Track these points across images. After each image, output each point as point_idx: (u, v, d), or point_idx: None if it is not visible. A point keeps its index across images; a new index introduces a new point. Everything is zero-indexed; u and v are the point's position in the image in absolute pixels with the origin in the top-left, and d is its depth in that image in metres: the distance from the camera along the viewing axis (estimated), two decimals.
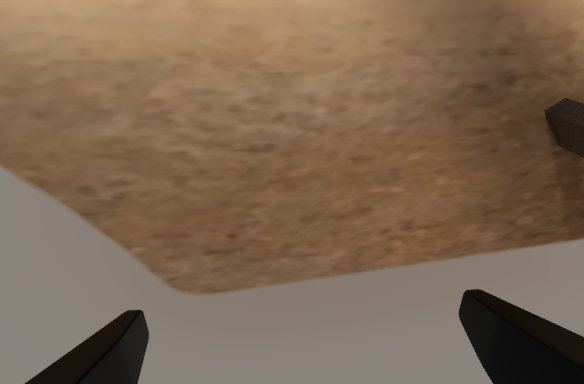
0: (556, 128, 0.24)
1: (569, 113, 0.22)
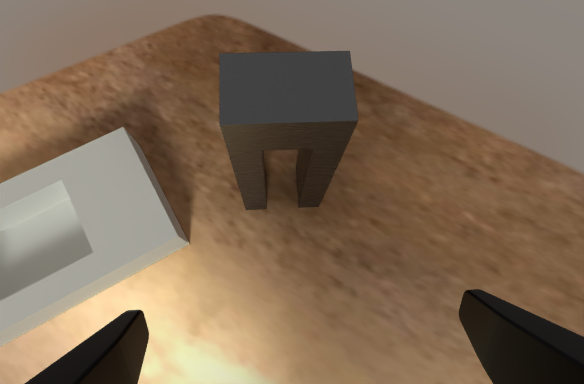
0: None
1: (314, 200, 0.24)
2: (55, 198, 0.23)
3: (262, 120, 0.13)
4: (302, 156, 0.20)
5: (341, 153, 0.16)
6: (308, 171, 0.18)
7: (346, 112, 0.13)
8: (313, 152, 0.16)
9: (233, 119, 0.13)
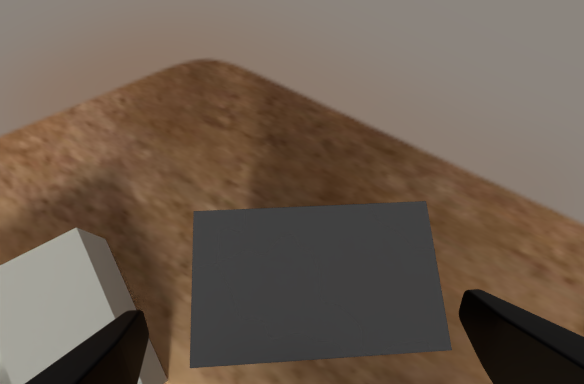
0: None
1: None
2: None
3: (271, 356, 0.07)
4: None
5: None
6: None
7: (428, 332, 0.07)
8: None
9: (217, 354, 0.07)
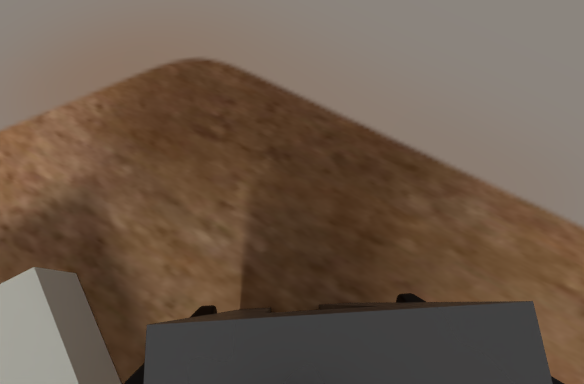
0: None
1: None
2: None
3: None
4: None
5: None
6: None
7: None
8: None
9: None
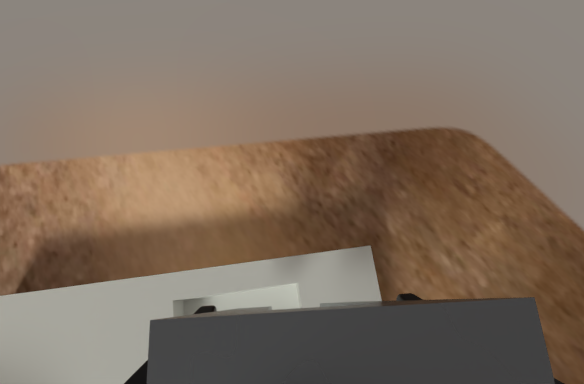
0: None
1: None
2: None
3: None
4: None
5: None
6: None
7: None
8: None
9: None
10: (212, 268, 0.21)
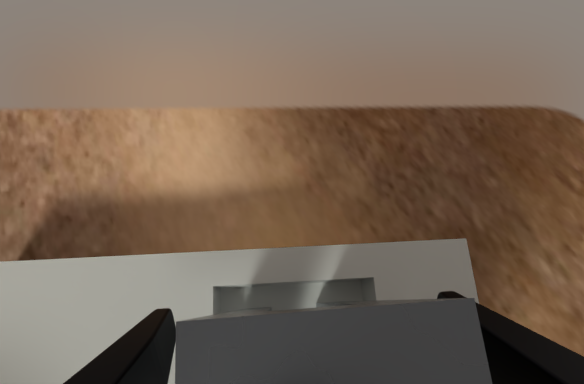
0: None
1: None
2: (336, 281, 0.18)
3: None
4: None
5: None
6: None
7: None
8: None
9: None
10: (265, 250, 0.16)
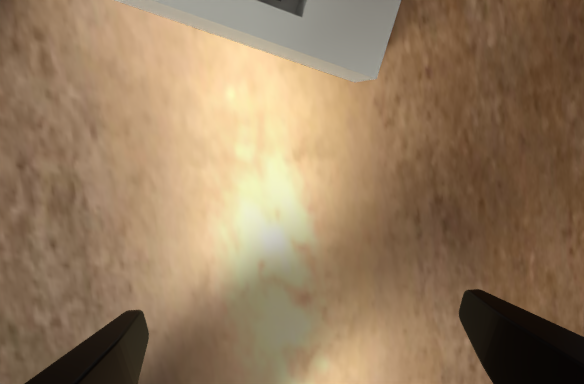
0: None
1: None
2: None
3: None
4: None
5: None
6: None
7: None
8: None
9: None
10: None
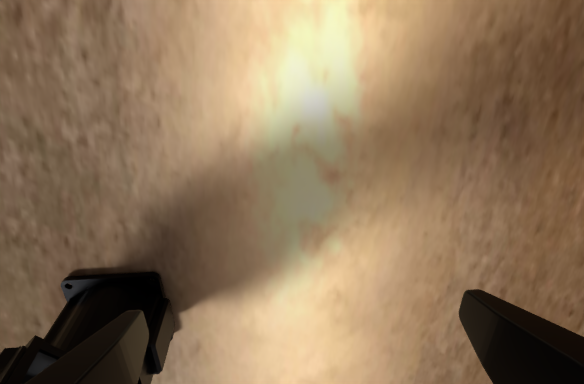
0: None
1: None
2: None
3: None
4: None
5: None
6: None
7: None
8: None
9: None
10: None
